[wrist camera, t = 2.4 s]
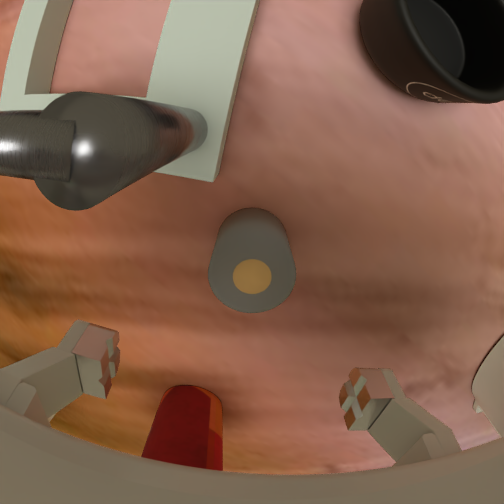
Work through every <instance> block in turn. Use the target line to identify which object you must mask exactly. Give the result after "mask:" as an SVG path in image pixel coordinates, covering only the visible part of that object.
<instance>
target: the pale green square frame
mask: <svg viewBox="0 0 504 504" xmlns="http://www.w3.org/2000/svg"><path fill="white" fill-rule="evenodd" d="M259 2H260V0H171V3H170V6H169V9H168V13H167V16H166V19H165V23H164V26H163V30H162V33H161V37H160V41H159V44H158V48H157V52H156V56H155V60H154V64H153V68H152V73H151V77H150V82H149V86H148V91H147V96H146V98H144V97H133V96H122V97H129V98H136V99H142V100H148V101H154V102H159V103H165V104H170V105H175V106H180V107H185V108H189V109H193V110H196V111H198V112H199V113H200V114H201V115H202V116H203V117H204V118H205V120H206V122H207V127H208V132H207V137H206V139H205V141H204V143H203V144H202V145H201V146H200V147H199V148H198V149H196V150H194V151H192V152H190V153H188V154H186V155H184V156H182V157H180V158H178V159H176V160H174V161H172V162H171V163H169V164H167V165H165V166H163V167H161V168H159V169H157V170H156V171H154V172H158V173H164V174H170V175H175V176H181V177H187V178H192V179H197V180H203V181H208V182H214V180H215V179H216V177H217V176H218V174H219V170H220V165H221V160H222V155H223V151H224V146H225V141H226V136H227V132H228V127H229V123H230V118H231V114H232V109H233V105H234V101H235V96H236V92H237V88H238V83H239V79H240V75H241V71H242V67H243V63H244V59H245V55H246V51H247V47H248V43H249V39H250V35H251V32H252V28H253V24H254V20H255V17H256V13H257V9H258V6H259ZM72 3H73V0H25V2H24V4H23V7H22V10H21V13H20V16H19V20H18V23H17V26H16V29H15V33H14V37H13V40H12V44H11V48H10V52H9V56H8V61H7V66H6V70H5V75H4V81H3V87H2V93H1V100H0V111H8V110H44V109H45V108H46V107H47V106H48V105H49V104H50V103H51V102H52V101H53V100H55V99H56V98H58V97H60V96H62V95H64V94H49V93H50V88H51V82H52V77H53V72H54V67H55V63H56V58H57V54H58V50H59V46H60V42H61V38H62V35H63V31H64V28H65V24H66V21H67V18H68V15H69V12H70V9H71V6H72ZM115 96H119V95H115Z"/></svg>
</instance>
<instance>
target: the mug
mask: <svg viewBox="0 0 504 504" xmlns="http://www.w3.org/2000/svg"><path fill="white" fill-rule="evenodd" d="M360 27H361V33H362V37H363V41H364V43H365V46H366V48H367V50H368V52H369V54H370V56H371V58H372V60H373V61H374V63H375V64H376V66H377V67H378V68H379V69H380V71H381V72H382V73H383V74H384V75H385V76H386V77H387V78H388V79H389V80H390V81H391V82H392V83H394V84H395V85H396V86H398V87H399V88H400V89H402V90H403V91H405V92H407V93H408V94H410V95H412V96H414V97H417V98H419V99H422V100H426V101H429V102H436V103H482V104H490V103H497V102H500V101H503V100H504V0H363V3H362V6H361V11H360Z"/></svg>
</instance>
